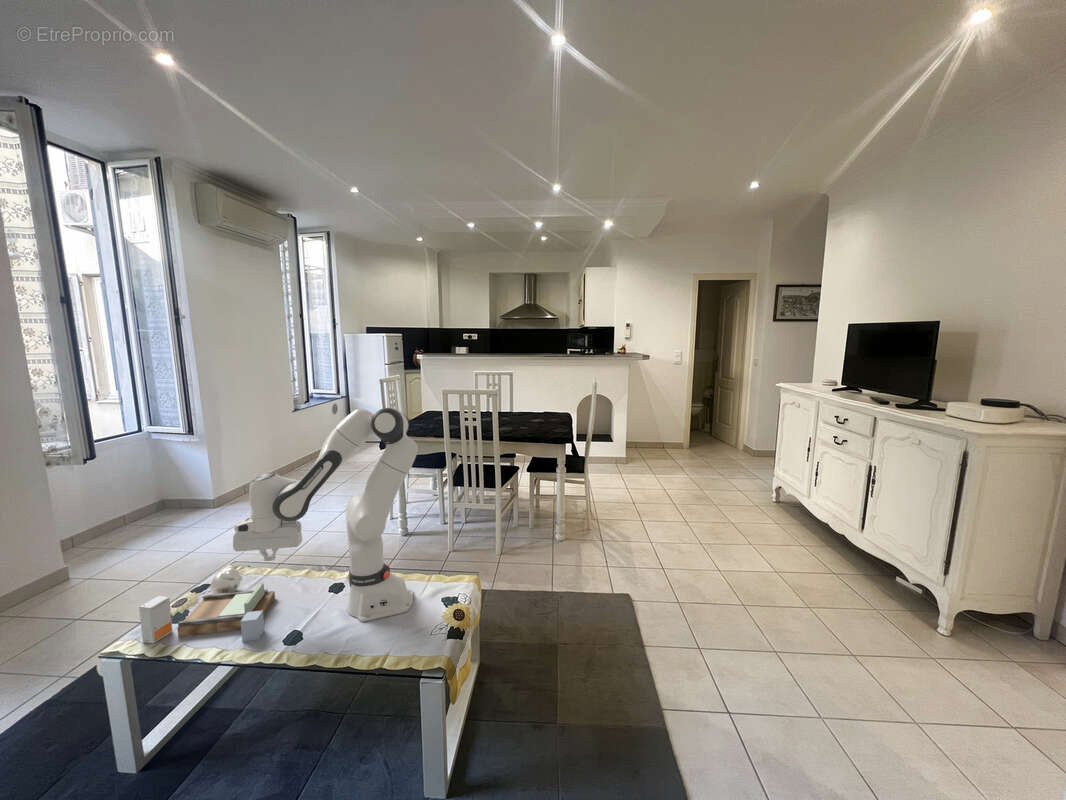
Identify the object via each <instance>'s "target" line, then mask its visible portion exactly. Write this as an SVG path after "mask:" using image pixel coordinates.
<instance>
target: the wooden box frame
mask: <svg viewBox="0 0 1066 800" xmlns="http://www.w3.org/2000/svg"><path fill="white" fill-rule="evenodd" d="M253 591H254V590H246V591H235V592H233V593H222V594H214V593H212V594H205V595H203V596H202V600H201V601H200V603H199V604H198V605H197V606H196V607H195V608H194V609H193V610H192V611H191V613H189V615H188V616H187V617H186V618H185V619H184V620H179V621H178V622H177V637H185V636H194V635H201V634H202V635H203V634H213V633H222V632H229V631H230V632H231V631H238V630H239V631H241V620H242V619H243V617H244V616H245V614H243V615H234V616H224V617H218V616H219V614H220V613H221V612H222V611H223V610H224V608H225V607H226V606H227V605H228V604H229V602H230V601H231V600H232V599H233V598H234V596H235V595H236V594H246V593H253ZM275 593H276V592H275V590H272V591H271V590H270V591H269V589H268V588H267V589H266V588H264V595H263V597H262V598H261V599H260V601H259V602H258V604H257V605H256V606H255V608H254V609H253V610H252V612H253V611H263V617H264V616H265V614H266V613H267V612H268V610H269V608H270V607H271V605H272V604H273V603H274V601H275V599H276V596H275V595H276V594H275Z"/></svg>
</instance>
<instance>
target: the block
mask: <svg viewBox="0 0 1066 800" xmlns="http://www.w3.org/2000/svg"><path fill="white" fill-rule="evenodd" d="M240 631H241V641H242V643H244V642H252V641H259V639H260V638H261V636H262V635H263V633H264V631H265V622H264V616H263V611H253V612H247V613H246V614H245V616H244V617H243V619H242V620H241V629H240Z"/></svg>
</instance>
